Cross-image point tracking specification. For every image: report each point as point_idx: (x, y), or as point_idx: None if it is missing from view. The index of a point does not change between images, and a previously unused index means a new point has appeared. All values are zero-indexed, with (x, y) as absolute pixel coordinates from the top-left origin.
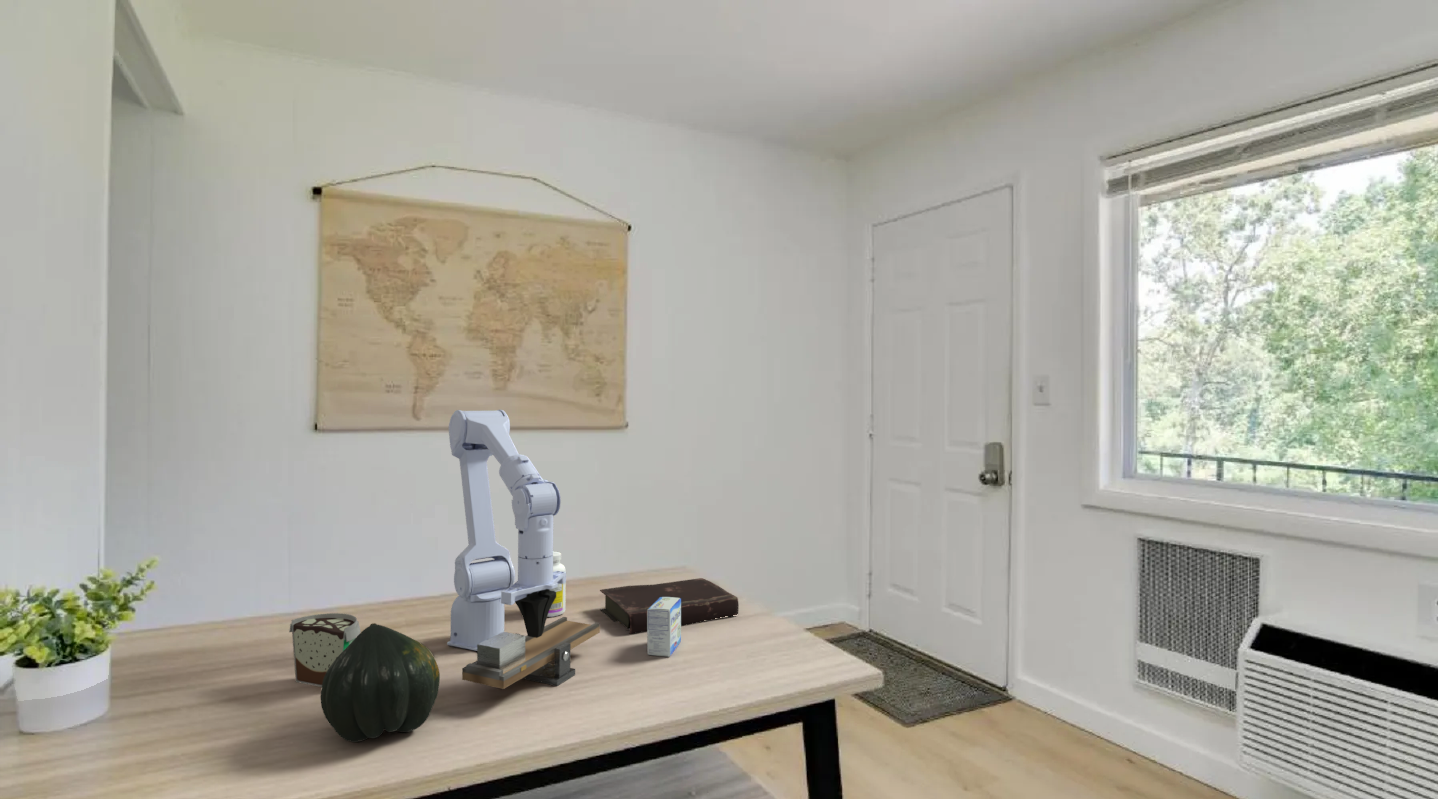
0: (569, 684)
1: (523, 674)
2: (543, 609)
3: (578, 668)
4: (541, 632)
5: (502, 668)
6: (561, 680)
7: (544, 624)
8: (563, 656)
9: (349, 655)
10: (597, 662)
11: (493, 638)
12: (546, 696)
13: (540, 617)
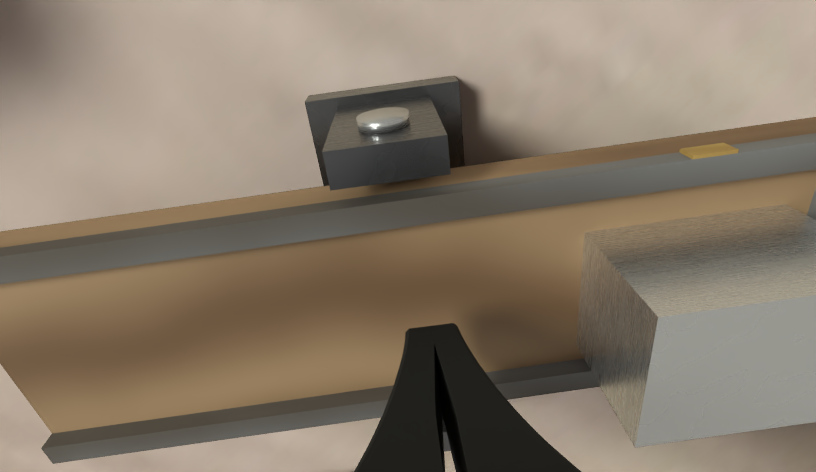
0: (406, 38)
1: (682, 141)
2: (473, 465)
3: (244, 137)
4: (425, 337)
5: (784, 216)
6: (423, 81)
7: (406, 369)
8: (407, 118)
9: None
10: (125, 109)
11: (754, 415)
12: (565, 36)
13: (481, 413)
